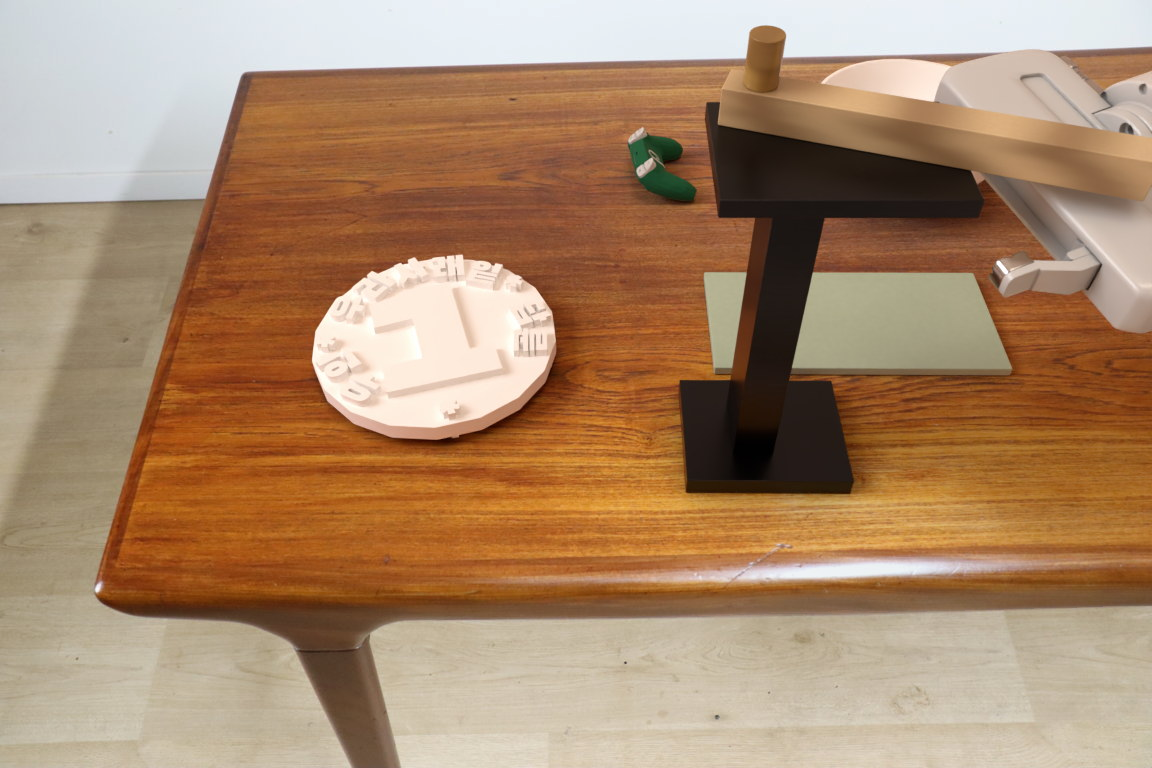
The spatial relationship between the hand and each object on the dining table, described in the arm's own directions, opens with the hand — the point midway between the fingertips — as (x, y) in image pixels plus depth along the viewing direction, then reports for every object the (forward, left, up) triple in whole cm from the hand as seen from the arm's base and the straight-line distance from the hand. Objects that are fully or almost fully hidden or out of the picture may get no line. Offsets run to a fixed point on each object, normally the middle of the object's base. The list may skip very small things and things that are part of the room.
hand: (950, 221), depth 55 cm
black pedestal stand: (+6, +5, -23) cm, 24 cm away
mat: (+12, -9, -23) cm, 27 cm away
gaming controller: (+39, -7, -23) cm, 45 cm away
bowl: (+26, -27, -23) cm, 44 cm away
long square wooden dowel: (+3, +1, +3) cm, 5 cm away
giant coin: (+28, +23, -23) cm, 42 cm away
